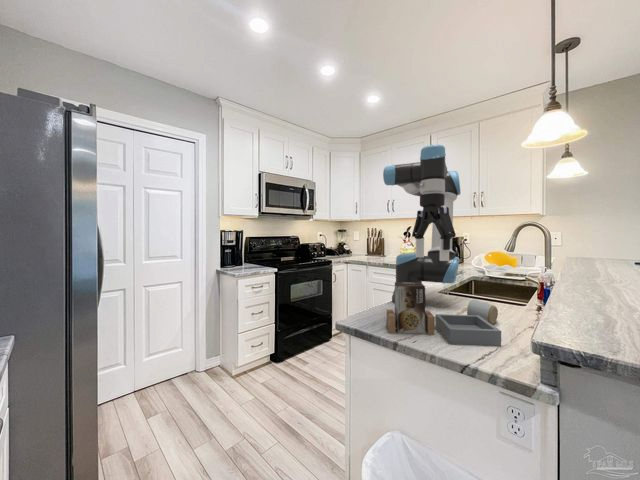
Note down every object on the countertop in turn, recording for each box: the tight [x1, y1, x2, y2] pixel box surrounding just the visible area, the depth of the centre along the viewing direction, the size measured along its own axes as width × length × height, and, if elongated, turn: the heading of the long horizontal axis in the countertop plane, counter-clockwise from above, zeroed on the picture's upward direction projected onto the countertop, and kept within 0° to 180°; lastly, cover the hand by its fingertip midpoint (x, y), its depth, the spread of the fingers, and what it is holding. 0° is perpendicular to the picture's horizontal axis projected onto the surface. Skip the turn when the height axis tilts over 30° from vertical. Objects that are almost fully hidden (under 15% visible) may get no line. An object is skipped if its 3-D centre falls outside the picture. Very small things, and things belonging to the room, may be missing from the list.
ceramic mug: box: [466, 299, 499, 325], centre depth 101 cm, size 11×8×8 cm
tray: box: [434, 313, 502, 347], centre depth 88 cm, size 14×14×4 cm
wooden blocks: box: [385, 308, 435, 336], centre depth 93 cm, size 7×14×6 cm, turn 83°
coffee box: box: [394, 281, 426, 335], centre depth 92 cm, size 9×6×16 cm
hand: (431, 259), depth 89 cm, fingers open, 13 cm apart
